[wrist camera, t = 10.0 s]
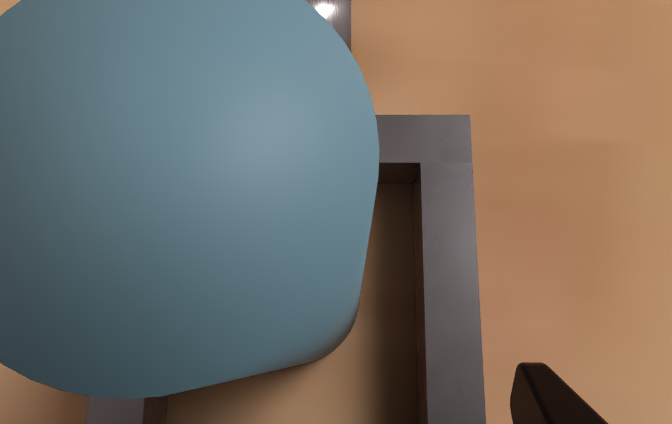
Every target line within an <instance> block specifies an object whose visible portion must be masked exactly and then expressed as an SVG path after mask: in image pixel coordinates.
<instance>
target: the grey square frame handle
mask: <svg viewBox="0 0 672 424" xmlns="http://www.w3.org/2000/svg"><path fill="white" fill-rule="evenodd" d="M305 1H307V2H308V3H309V4H311V5H312V6H313V7H314V8H315V9H316V10H317V11H318V12H319V13H320V14H321V15H322V16H323V17H324V18H325V19H326V20H327V21H328V22H329V23H330V24H331V25H332V27H333V28H334V29H335V31H336V32H337V33H338V34H339V36H340V37H341V38H342V40H343V41H344V42H345V43H346V45H347V47H348V48H349V50H350V52H351V0H305ZM375 116H376V120H377V130H378V140H379V173H378V183H413V201H414V242H415V282H416V323H417V363H418V404H419V424H486V416H485V396H484V377H483V358H482V339H481V320H480V301H479V282H478V263H477V244H476V225H475V206H474V187H473V168H472V149H471V130H470V115H375ZM167 402H168V395H165V396H160V397H148V398H135V399H116V398H99V397H90V396H89V399H88V408H87V417H86V424H166V415H167Z"/></svg>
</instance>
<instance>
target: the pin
mask: <svg viewBox="0 0 672 424" xmlns="http://www.w3.org/2000/svg"><path fill="white" fill-rule="evenodd" d="M378 173H379V140H378V130H377V120H376V116H375V112H374V108H373V104H372V100H371V96H370V92H369V90H368V87H367V85H366V82H365V80H364V77H363V75H362V73H361V70H360V68H359V66H358V64H357V62H356V61H355V59H354V57H353V55H352V54H351V52H350V50H349V48H348V47H347V45H346V43H345V42H344V41H343V40H342V38H341V37H340V36H339V34H338V33H337V32H336V31H335V29H334V28H333V27H332V25H331V24H330V23H329V22H328V21H327V20H326V19H325V18H324V17H323V16H322V15H321V14H320V13H319V12H318V11H317V10H316V9H315V8H314V7H313V6H312V5H311V4H309V3H308V2H307V1H305V0H21V1H20V2H18V3H17V4H16V5H14V6H13V7H11V8H10V9H9V10H7V11H6V12H5V13H3V14H2V15H1V16H0V363H2V364H3V365H5V366H7V367H8V368H10V369H12V370H14V371H16V372H18V373H20V374H21V375H23V376H25V377H27V378H29V379H31V380H33V381H36V382H39V383H42V384H44V385H47V386H50V387H53V388H55V389H58V390H61V391H66V392H70V393H75V394H80V395H85V396H90V397H99V398H116V399H135V398H148V397H160V396H165V395H170V394H174V393H179V392H183V391H188V390H192V389H197V388H201V387H206V386H210V385H214V384H219V383H223V382H227V381H232V380H236V379H240V378H245V377H249V376H253V375H258V374H262V373H266V372H271V371H275V370H279V369H284V368H288V367H292V366H297V365H301V364H305V363H309V362H313V361H316V360H318V359H321V358H323V357H324V356H326V355H328V354H329V353H331V352H332V351H334V350H335V349H336V348H337V347H338V346H339V345H340V344H341V343H342V342H343V341H344V339H345V338H346V337H347V335H348V334H349V332H350V331H351V329H352V326H353V324H354V322H355V319H356V315H357V311H358V305H359V299H360V292H361V286H362V279H363V273H364V267H365V260H366V254H367V247H368V241H369V235H370V228H371V222H372V215H373V209H374V203H375V196H376V190H377V183H378Z"/></svg>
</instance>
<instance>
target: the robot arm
mask: <svg viewBox="0 0 672 424" xmlns="http://www.w3.org/2000/svg"><path fill="white" fill-rule="evenodd" d="M510 409H511V415H512V420H513V424H608V423H607V422H606V421H605V420H604V419H603V418H602V417H601V416H600V415H599V414H598V413H597V412H596V411H595V410H593V409H592V408H591V407H590V406H589V405H588V404H587V403H586V402H585V401H584V400H583V399H582V398H581V397H580V396H579V395H578V394H577V393H576V392H575V391H574V390H572V389H571V388H570V387H569V386H568V385H567V384H566V383H565V382H564V381H563V380H562V379H561V378H560V377H559V376H558V375H557V374H556V373H555V372H554V371H553V370H552V369H550V368H549V367H548V366H547V365H546V364H544V363H529V362H522V363H520V364H518V366H517V368H516V372H515V377H514V382H513V387H512V392H511V397H510Z"/></svg>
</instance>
